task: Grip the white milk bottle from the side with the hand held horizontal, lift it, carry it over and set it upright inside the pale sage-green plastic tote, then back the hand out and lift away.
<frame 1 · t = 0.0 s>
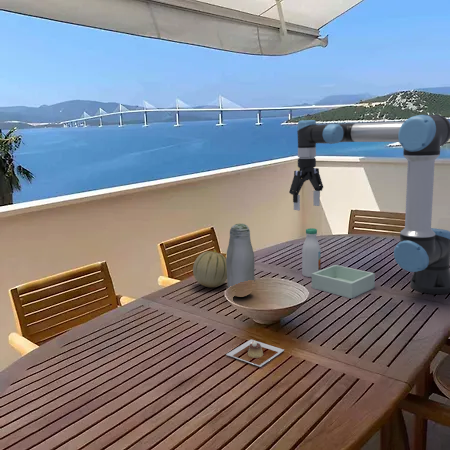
hand: (306, 207, 203), 28 cm above the table, tool pointing down, fingers open, 13 cm apart
glass bottle: (241, 296, 180), on the table
tote: (342, 287, 185), on the table
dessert: (255, 356, 135), on the table
milk bottle: (311, 275, 203), on the table
cantaloupe: (212, 286, 193), on the table
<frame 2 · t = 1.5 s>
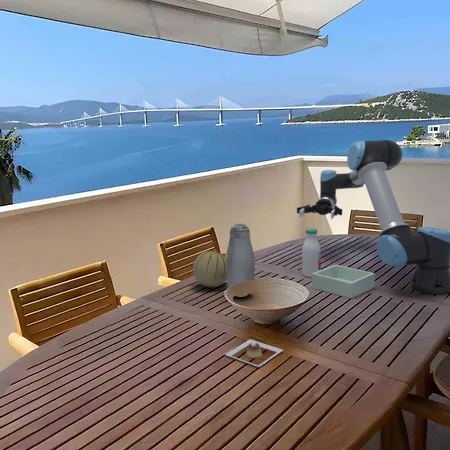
hand: (315, 214, 206), 24 cm above the table, tool horizontal, fingers open, 13 cm apart
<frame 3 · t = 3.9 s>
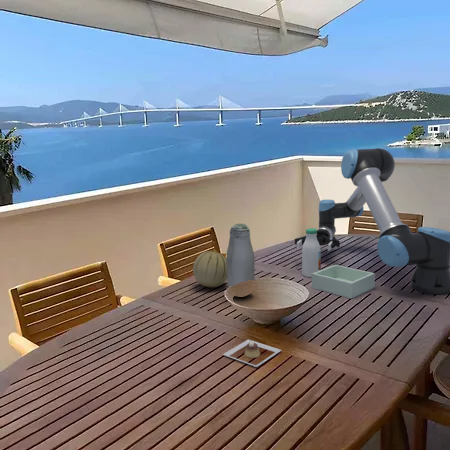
hand: (313, 247, 205), 11 cm above the table, tool horizontal, fingers open, 13 cm apart
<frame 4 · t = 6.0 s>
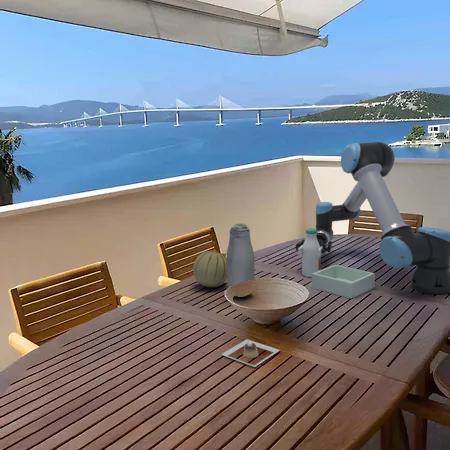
hand: (308, 252, 196), 11 cm above the table, tool horizontal, fingers closed on milk bottle, 7 cm apart
milk bottle: (311, 275, 203), on the table, touching gripper
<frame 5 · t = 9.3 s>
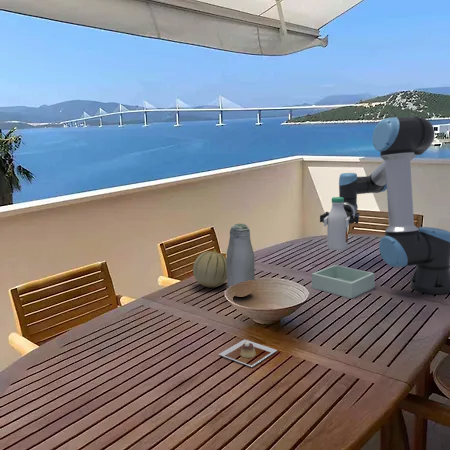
hand: (335, 223, 179), 26 cm above the table, tool horizontal, fingers closed on milk bottle, 7 cm apart
milk bottle: (337, 248, 186), point 15 cm above the table, touching gripper
when the fingers open (13 cm above the table, at t = 12.4 s): milk bottle drops 2 cm, resting on tote.
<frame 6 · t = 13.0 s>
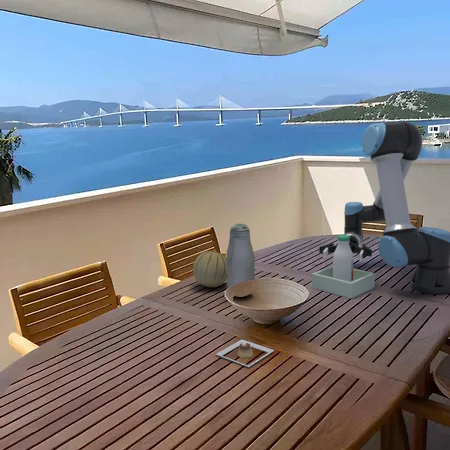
hand: (342, 256, 180), 13 cm above the table, tool horizontal, fingers open, 13 cm apart
milk bottle: (342, 286, 185), point 1 cm above the table, touching tote
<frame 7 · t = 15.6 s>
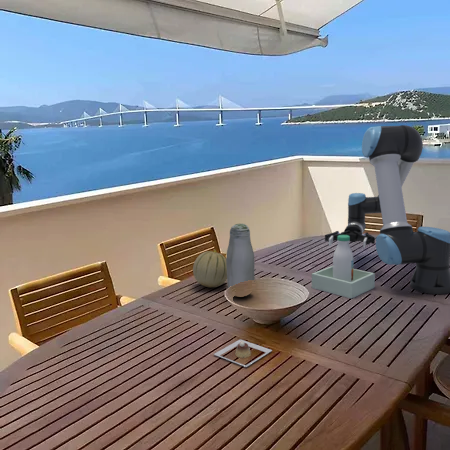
hand: (346, 243, 190), 16 cm above the table, tool horizontal, fingers open, 13 cm apart
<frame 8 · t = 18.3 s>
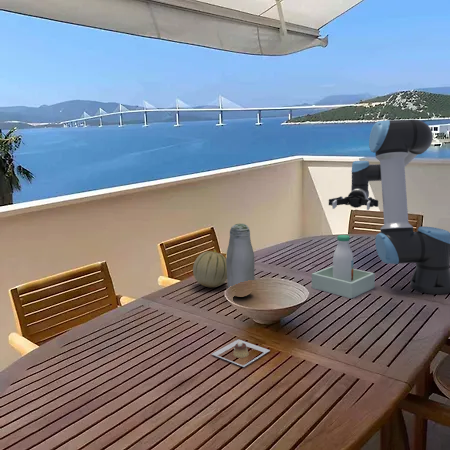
hand: (350, 206, 192), 30 cm above the table, tool horizontal, fingers open, 13 cm apart
at the end: milk bottle inside the target area on the tote (0.1 cm from its centre), point 0.6 cm above the tote's base; milk bottle tilted 0°; the gripper is holding nothing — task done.
